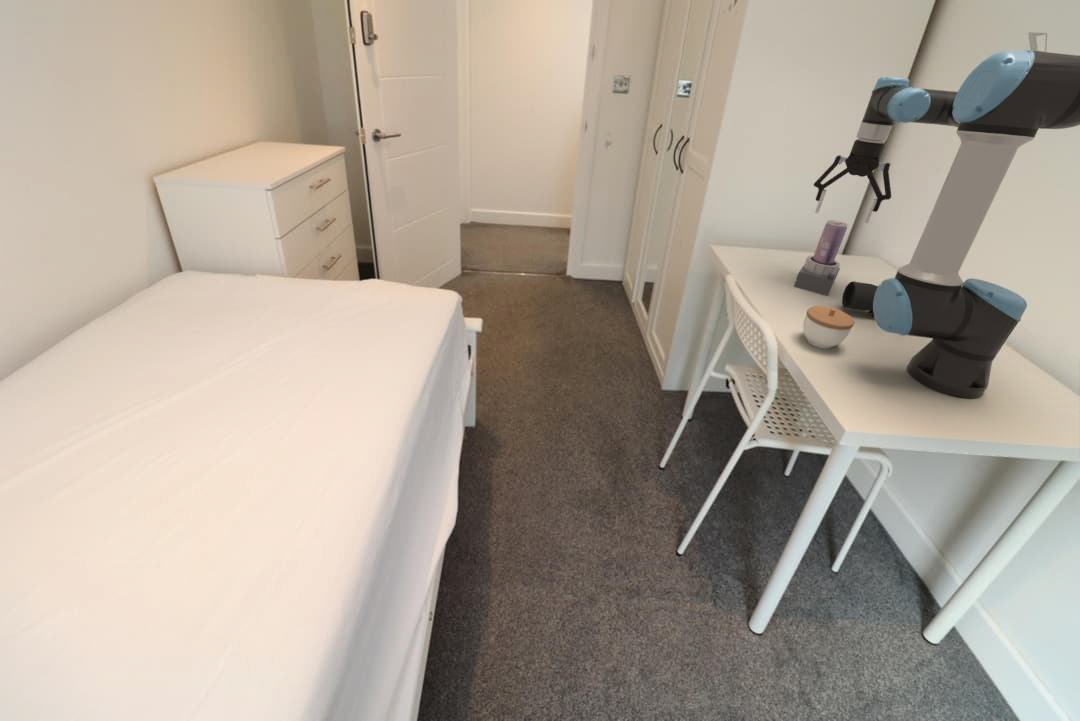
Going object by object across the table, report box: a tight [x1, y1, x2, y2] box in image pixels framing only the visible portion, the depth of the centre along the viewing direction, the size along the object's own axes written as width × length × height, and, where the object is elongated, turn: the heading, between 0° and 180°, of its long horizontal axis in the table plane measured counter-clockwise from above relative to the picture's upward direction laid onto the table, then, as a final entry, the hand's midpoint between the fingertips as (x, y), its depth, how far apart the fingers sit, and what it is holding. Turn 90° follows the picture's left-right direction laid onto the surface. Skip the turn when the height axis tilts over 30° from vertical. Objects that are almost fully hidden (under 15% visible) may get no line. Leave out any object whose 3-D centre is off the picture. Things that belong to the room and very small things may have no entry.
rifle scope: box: [841, 281, 879, 319], centre depth 143 cm, size 10×26×10 cm, turn 78°
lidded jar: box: [802, 305, 855, 349], centre depth 127 cm, size 11×11×9 cm
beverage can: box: [812, 219, 848, 266], centre depth 157 cm, size 6×6×15 cm
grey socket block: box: [793, 254, 841, 297], centre depth 161 cm, size 14×10×8 cm
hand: (841, 217), depth 151 cm, fingers open, 13 cm apart
